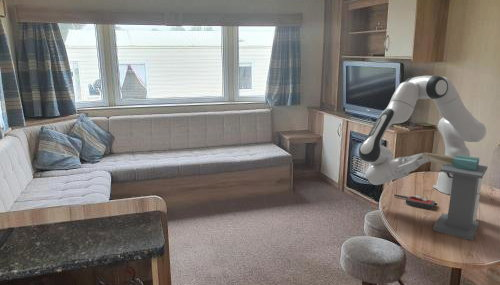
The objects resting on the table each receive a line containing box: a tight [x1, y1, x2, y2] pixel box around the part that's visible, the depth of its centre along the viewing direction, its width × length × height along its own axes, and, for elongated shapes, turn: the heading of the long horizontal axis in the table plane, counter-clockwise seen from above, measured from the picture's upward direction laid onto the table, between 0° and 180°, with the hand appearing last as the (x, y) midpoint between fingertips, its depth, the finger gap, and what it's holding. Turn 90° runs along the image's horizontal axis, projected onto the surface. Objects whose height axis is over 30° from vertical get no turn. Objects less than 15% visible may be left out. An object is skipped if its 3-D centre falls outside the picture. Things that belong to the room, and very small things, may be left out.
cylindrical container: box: [473, 161, 485, 221], centre depth 162 cm, size 7×7×25 cm
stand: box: [433, 164, 488, 241], centre depth 152 cm, size 16×14×26 cm
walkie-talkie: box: [393, 194, 438, 210], centre depth 181 cm, size 9×4×20 cm
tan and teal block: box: [422, 151, 480, 171], centre depth 154 cm, size 8×20×4 cm, turn 52°
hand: (431, 156), depth 158 cm, fingers open, 8 cm apart
